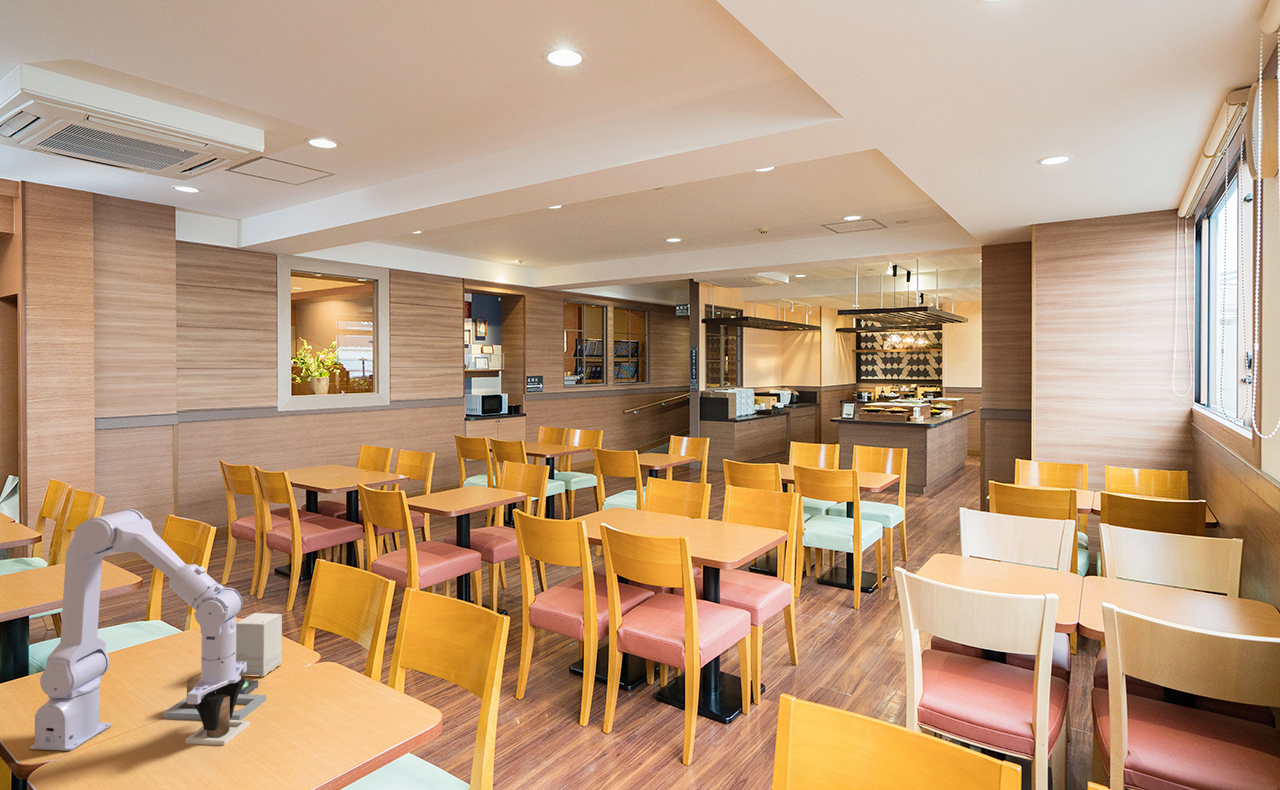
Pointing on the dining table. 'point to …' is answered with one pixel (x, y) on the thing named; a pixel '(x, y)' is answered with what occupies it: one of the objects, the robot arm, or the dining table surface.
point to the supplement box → (259, 642)
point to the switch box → (249, 687)
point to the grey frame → (252, 703)
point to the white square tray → (202, 737)
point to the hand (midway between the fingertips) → (218, 723)
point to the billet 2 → (222, 719)
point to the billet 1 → (190, 685)
